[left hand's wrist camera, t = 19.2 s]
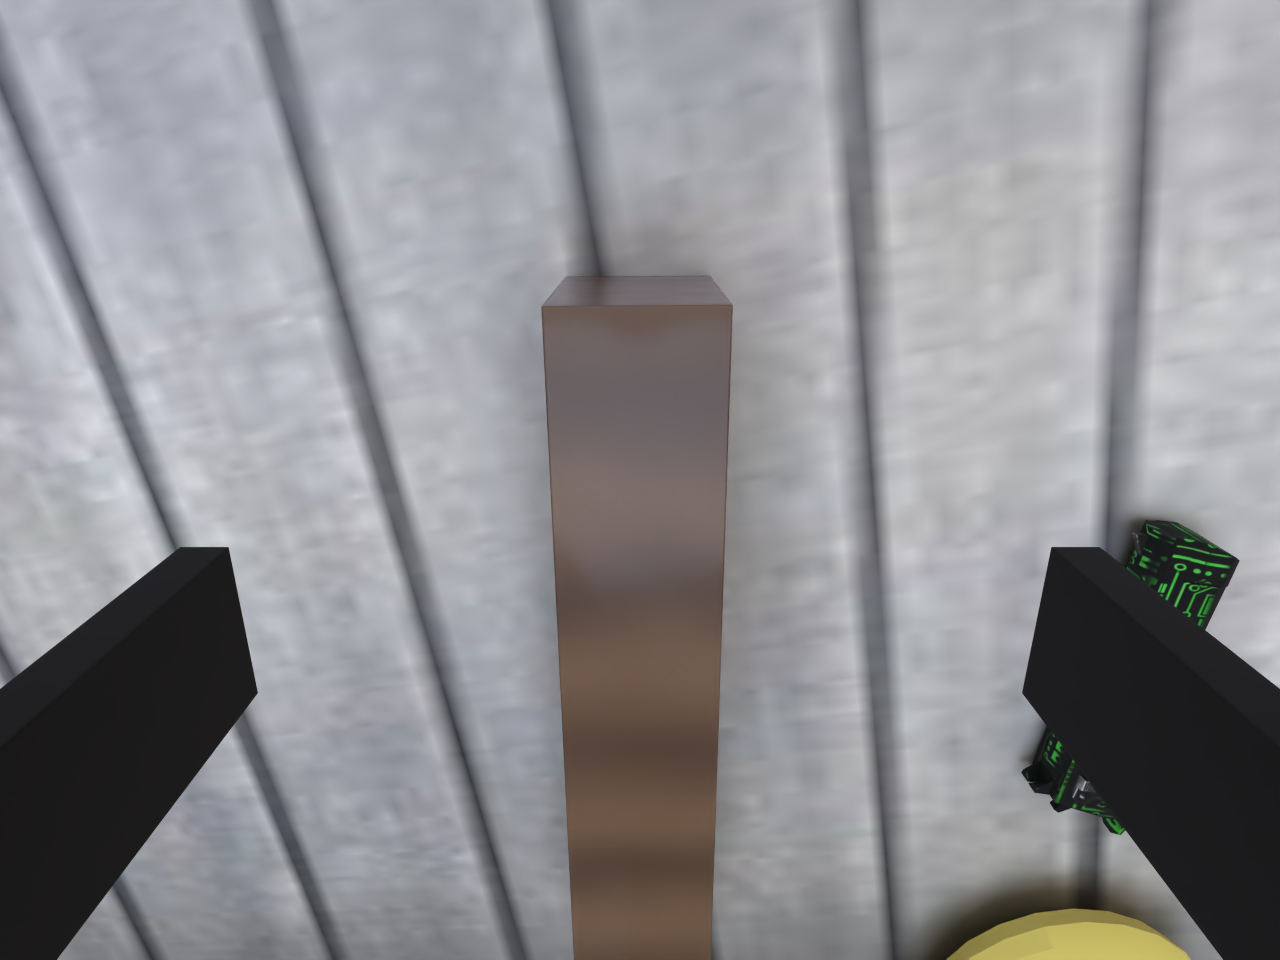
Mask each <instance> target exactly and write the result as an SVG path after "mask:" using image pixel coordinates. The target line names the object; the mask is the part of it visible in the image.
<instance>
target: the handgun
mask: <svg viewBox="0 0 1280 960" xmlns="http://www.w3.org/2000/svg"><path fill="white" fill-rule="evenodd" d="M1133 538H1134V544H1135V546H1134V549H1133V551H1132V554H1131V556H1130V559H1129V561H1128V564H1127V567H1126V568H1127V569H1128V570H1129V571H1130V572H1132V573H1133V574H1134V575H1135V576H1137V577H1138V578H1139V579H1141V580H1142V581H1143V582H1144V583H1146V584H1147V585H1148V586H1149V587H1151V588H1152V589H1153V590H1155V591H1156V592H1157V593H1158V594H1160V595H1161V596H1162V597H1163V598H1165V599H1166V600H1167V601H1169V602H1170V603H1171V604H1172V605H1174V606H1175V607H1176V608H1177V609H1179V610H1180V611H1181V612H1182V613H1184V614H1185V615H1186V616H1188V617H1189V618H1190V619H1191V620H1193V621H1194V622H1195V623H1196V624H1198V625H1199V626H1200V627H1202V628H1203V629H1204V630H1205V629H1206V627H1207V625H1208V623H1209V621H1210V619H1211V617H1212V615H1213V613H1214V611H1215V609H1216V606H1217V604H1218V602H1219V600H1220V598H1221V596H1222V594H1223V592H1224V590H1225V588H1226V587H1227V586H1228V584H1229V582H1230V580H1231V578H1232V576H1233V573H1234V571H1235V569H1236V567H1237V565H1238V563H1239V560H1238V559H1237V558H1236V557H1234V556H1232V555H1231V554H1229V553H1228V552H1226V551H1224V550H1223V549H1221V548H1219V547H1218V546H1216V545H1215V544H1213V543H1211V542H1210V541H1208V540H1207V539H1205V538H1203V537H1202V536H1200V535H1198V534H1197V533H1195V532H1193V531H1191V530H1189V529H1187V528H1186V527H1184V526H1182V525H1180V524H1178V523H1175V522H1167V521H1148V520H1146V521H1145V522H1144V525H1143V527H1142V530H1141V532H1140V533H1133ZM1021 773H1022V774H1023V776H1024V777H1025V779H1026V780H1027V781H1028V782H1033V783H1029V785H1030V786H1031V788H1032V789H1033V791H1034V792H1035V793H1041V794H1049V795H1050V796H1051V797H1052V799H1053V800H1052V801H1051V802H1050V804H1051V805H1052V807H1053V809H1054V810H1055V811H1057V812H1061V811H1064V810H1067V809H1070V808H1073V809H1077V810H1080V811H1084V812H1087V813H1090V814H1094V815H1097V816H1100V817H1102V819H1103V823H1104V824H1105V825H1106V827H1107V828H1108V830H1109V831H1110V832H1111V833H1115V834H1119V835H1121V834H1122V833H1123V832H1124V831H1125V829H1124V827H1123V826H1122V825H1121V823H1120V822H1119V821H1118V819H1117V818H1116V817H1115V815H1114V814H1113V813H1112V811H1111V810H1110V809H1109V807H1108V806H1107V805H1106V803H1105V802H1104V801H1103V799H1102V798H1101V797H1100V795H1099V794H1098V793H1097V791H1096V790H1095V789H1094V787H1093V786H1092V785H1091V783H1090V782H1089V781H1088V780H1087V778H1086V777H1085V776H1084V774H1083V773H1082V772H1081V770H1080V769H1079V768H1078V766H1077V765H1076V764H1075V762H1074V761H1073V760H1072V758H1071V757H1070V756H1069V754H1068V753H1067V752H1066V750H1065V749H1064V748H1063V746H1062V745H1061V744H1060V742H1059V741H1058V740H1057V738H1056V737H1055V736H1054V734H1053V733H1052V732H1051V730H1050V729H1049V728H1048V727H1047V730H1046V732H1045V735H1044V737H1043V739H1042V742H1041V744H1040V747H1039V749H1038V752H1037V754H1036V757H1035V759H1034V762H1033V764H1032V765H1031V766H1029V767H1027V768H1025V769H1023V771H1022V772H1021Z"/></svg>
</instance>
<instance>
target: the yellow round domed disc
mask: <svg viewBox="0 0 1280 960" xmlns="http://www.w3.org/2000/svg"><path fill="white" fill-rule="evenodd" d="M946 960H1191V959H1190V958H1189V957H1188V955H1187V954H1186V953H1185V952H1184V951H1183V950H1182V949H1181V948H1179V947H1178V946H1177V945H1175V944H1174V943H1173V942H1172V941H1170V940H1169V939H1168V938H1167V937H1165V936H1164V935H1162V934H1161V933H1159V932H1157V931H1156V930H1154V929H1153V928H1151V927H1150V926H1148V925H1146V924H1145V923H1143V922H1142V921H1139V920H1136V919H1133V918H1130V917H1126V916H1123V915H1120V914H1116V913H1113V912H1110V911H1099V910H1086V909H1065V910H1057V911H1048V912H1040V913H1034V914H1031V915H1027V916H1024V917H1021V918H1018V919H1015V920H1012V921H1008V922H1005V923H1002V924H999V925H997V926H995V927H993V928H991V929H990V930H988V931H986V932H984V933H982V934H980V935H979V936H977V937H975V938H973V939H971V940H969V941H967V942H966V943H965V944H964V945H963V946H962V947H960V948H959V949H958V950H957V951H956V952H954V953H953V954H952V955H951V956H950V957H949V958H947V959H946Z"/></svg>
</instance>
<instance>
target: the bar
mask: <svg viewBox="0 0 1280 960" xmlns="http://www.w3.org/2000/svg"><path fill="white" fill-rule="evenodd" d="M732 310H733V306H732V304H731V303H730V302H729V300H728V299H727V298H726V296H725V295H724V294H723V292H722V291H721V290H720V288H719V287H718V286H717V285H716V283H715V282H714V281H713V279H712V278H711V277H710V276H617V277H566V278H565V279H564V280H563V281H562V283H561V284H560V285H559V286H558V287H557V289H556V290H555V291H554V292H553V293H552V295H551V296H550V297H549V298H548V300H547V301H546V302H545V303H544V304H543V306H542V327H543V347H544V367H545V387H546V407H547V427H548V448H549V468H550V488H551V508H552V528H553V548H554V568H555V588H556V608H557V628H558V648H559V668H560V688H561V708H562V728H563V748H564V768H565V788H566V808H567V829H568V849H569V869H570V889H571V909H572V929H573V949H574V960H711V934H712V905H713V875H714V845H715V815H716V786H717V756H718V726H719V696H720V667H721V637H722V607H723V577H724V548H725V518H726V488H727V459H728V429H729V399H730V369H731V340H732Z"/></svg>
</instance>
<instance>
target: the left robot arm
mask: <svg viewBox="0 0 1280 960" xmlns="http://www.w3.org/2000/svg"><path fill="white" fill-rule="evenodd" d="M257 693H258V692H257V687H256V682H255V677H254V672H253V667H252V662H251V657H250V652H249V647H248V642H247V637H246V632H245V627H244V622H243V617H242V612H241V607H240V602H239V597H238V592H237V587H236V582H235V577H234V572H233V567H232V562H231V557H230V552H229V547H180V548H179V549H178V550H176V551H175V552H174V553H172V554H171V555H170V556H169V557H167V558H166V559H165V560H164V561H162V562H161V563H160V564H159V565H157V566H156V567H155V568H153V569H152V570H151V571H150V572H148V573H147V574H146V575H145V576H143V577H142V578H141V579H139V580H138V581H137V582H136V583H134V584H133V585H132V586H131V587H129V588H128V589H127V590H125V591H124V592H123V593H122V594H120V595H119V596H118V597H117V598H115V599H114V600H113V601H111V602H110V603H109V604H108V605H106V606H105V607H104V608H103V609H101V610H100V611H99V612H97V613H96V614H95V615H94V616H92V617H91V618H90V619H89V620H87V621H86V622H85V623H84V624H82V625H81V626H80V627H78V628H77V629H76V630H75V631H73V632H72V633H71V634H70V635H68V636H67V637H66V638H64V639H63V640H62V641H61V642H59V643H58V644H57V645H56V646H54V647H53V648H52V649H50V650H49V651H48V652H47V653H45V654H44V655H43V656H42V657H40V658H39V659H38V660H36V661H35V662H34V663H33V664H31V665H30V666H29V667H28V668H26V669H25V670H24V671H23V672H21V673H20V674H19V675H17V676H16V677H15V678H14V679H12V680H11V681H10V682H9V683H7V684H6V685H5V686H3V687H2V688H1V689H0V960H57V959H58V957H59V956H60V955H61V953H62V952H63V951H64V949H65V948H66V947H67V945H68V944H69V943H70V941H71V940H72V939H73V937H74V936H75V935H76V933H77V932H78V931H79V929H80V928H81V927H82V925H83V924H84V923H85V921H86V920H87V919H88V918H89V916H90V915H91V914H92V912H93V911H94V910H95V908H96V907H97V906H98V904H99V903H100V902H101V900H102V899H103V898H104V896H105V895H106V894H107V892H108V891H109V890H110V888H111V887H112V886H113V884H114V883H115V882H116V880H117V879H118V878H119V876H120V875H121V874H122V872H123V871H124V870H125V868H126V867H127V866H128V864H129V863H130V862H131V860H132V859H133V858H134V856H135V855H136V854H137V852H138V851H139V850H140V849H141V847H142V846H143V845H144V843H145V842H146V841H147V839H148V838H149V837H150V835H151V834H152V833H153V831H154V830H155V829H156V827H157V826H158V825H159V823H160V822H161V821H162V819H163V818H164V817H165V815H166V814H167V813H168V811H169V810H170V809H171V807H172V806H173V805H174V803H175V802H176V801H177V799H178V798H179V797H180V795H181V794H182V793H183V791H184V790H185V789H186V787H187V786H188V785H189V783H190V782H191V781H192V780H193V778H194V777H195V776H196V774H197V773H198V772H199V770H200V769H201V768H202V766H203V765H204V764H205V762H206V761H207V760H208V758H209V757H210V756H211V754H212V753H213V752H214V750H215V749H216V748H217V746H218V745H219V744H220V742H221V741H222V740H223V738H224V737H225V736H226V734H227V733H228V732H229V730H230V729H231V728H232V726H233V725H234V724H235V722H236V721H237V720H238V718H239V717H240V716H241V714H242V713H243V712H244V711H245V709H246V708H247V707H248V705H249V704H250V703H251V701H252V700H253V699H254V697H255V696H256V695H257ZM1022 693H1023V695H1024V696H1025V697H1026V699H1027V700H1028V701H1029V703H1030V704H1031V705H1032V707H1033V708H1034V709H1035V711H1036V712H1037V713H1038V714H1039V716H1040V717H1041V718H1042V720H1043V721H1044V722H1045V724H1046V725H1047V726H1048V728H1049V729H1050V730H1051V732H1052V733H1053V734H1054V736H1055V737H1056V738H1057V740H1058V741H1059V742H1060V744H1061V745H1062V746H1063V748H1064V749H1065V750H1066V752H1067V753H1068V754H1069V756H1070V757H1071V758H1072V760H1073V761H1074V762H1075V764H1076V765H1077V766H1078V768H1079V769H1080V770H1081V772H1082V773H1083V774H1084V776H1085V777H1086V778H1087V780H1088V781H1089V782H1090V783H1091V785H1092V786H1093V787H1094V789H1095V790H1096V791H1097V793H1098V794H1099V795H1100V797H1101V798H1102V799H1103V801H1104V802H1105V803H1106V805H1107V806H1108V807H1109V809H1110V810H1111V811H1112V813H1113V814H1114V815H1115V817H1116V818H1117V819H1118V821H1119V822H1120V823H1121V825H1122V826H1123V827H1124V829H1125V830H1126V831H1127V833H1128V834H1129V835H1130V837H1131V838H1132V839H1133V841H1134V842H1135V843H1136V845H1137V846H1138V847H1139V849H1140V850H1141V851H1142V852H1143V854H1144V855H1145V856H1146V858H1147V859H1148V860H1149V862H1150V863H1151V864H1152V866H1153V867H1154V868H1155V870H1156V871H1157V872H1158V874H1159V875H1160V876H1161V878H1162V879H1163V880H1164V882H1165V883H1166V884H1167V886H1168V887H1169V888H1170V890H1171V891H1172V892H1173V894H1174V895H1175V896H1176V898H1177V899H1178V900H1179V902H1180V903H1181V904H1182V906H1183V907H1184V908H1185V910H1186V911H1187V912H1188V914H1189V915H1190V916H1191V918H1192V919H1193V920H1194V921H1195V923H1196V924H1197V925H1198V927H1199V928H1200V929H1201V931H1202V932H1203V933H1204V935H1205V936H1206V937H1207V939H1208V940H1209V941H1210V943H1211V944H1212V945H1213V947H1214V948H1215V949H1216V951H1217V952H1218V953H1219V955H1220V956H1221V957H1222V959H1223V960H1280V689H1279V688H1278V687H1277V686H1275V685H1274V684H1273V683H1271V682H1270V681H1269V680H1268V679H1266V678H1265V677H1264V676H1263V675H1261V674H1260V673H1259V672H1257V671H1256V670H1255V669H1254V668H1252V667H1251V666H1250V665H1249V664H1247V663H1246V662H1245V661H1244V660H1242V659H1241V658H1240V657H1238V656H1237V655H1236V654H1235V653H1233V652H1232V651H1231V650H1230V649H1228V648H1227V647H1226V646H1224V645H1223V644H1222V643H1221V642H1219V641H1218V640H1217V639H1216V638H1214V637H1213V636H1212V635H1210V634H1209V633H1208V632H1207V631H1205V630H1204V629H1203V628H1202V627H1200V626H1199V625H1198V624H1196V623H1195V622H1194V621H1193V620H1191V619H1190V618H1189V617H1188V616H1186V615H1185V614H1184V613H1182V612H1181V611H1180V610H1179V609H1177V608H1176V607H1175V606H1174V605H1172V604H1171V603H1170V602H1169V601H1167V600H1166V599H1165V598H1163V597H1162V596H1161V595H1160V594H1158V593H1157V592H1156V591H1155V590H1153V589H1152V588H1151V587H1149V586H1148V585H1147V584H1146V583H1144V582H1143V581H1142V580H1141V579H1139V578H1138V577H1137V576H1135V575H1134V574H1133V573H1132V572H1130V571H1129V570H1128V569H1127V568H1125V567H1124V566H1123V565H1121V564H1120V563H1119V562H1118V561H1116V560H1115V559H1114V558H1113V557H1111V556H1110V555H1109V554H1108V553H1106V552H1105V551H1104V550H1102V549H1101V548H1100V547H1051V552H1050V557H1049V562H1048V567H1047V572H1046V577H1045V582H1044V587H1043V592H1042V597H1041V602H1040V607H1039V612H1038V617H1037V622H1036V627H1035V632H1034V637H1033V642H1032V647H1031V652H1030V657H1029V662H1028V667H1027V672H1026V677H1025V682H1024V687H1023V692H1022Z"/></svg>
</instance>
